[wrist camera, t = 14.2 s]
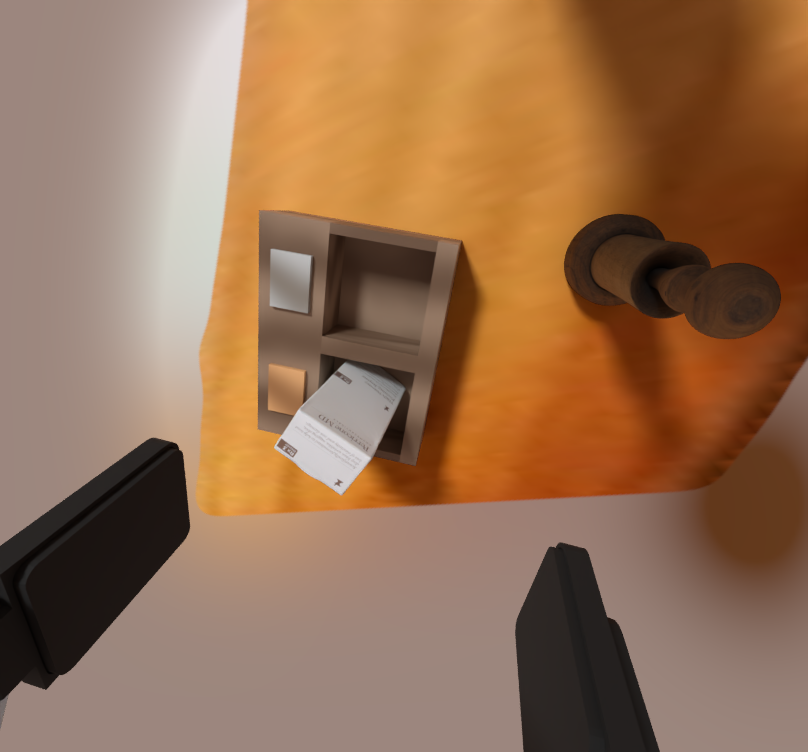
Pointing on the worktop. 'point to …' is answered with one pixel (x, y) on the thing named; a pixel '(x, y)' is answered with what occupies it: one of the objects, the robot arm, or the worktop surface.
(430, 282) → the socket block
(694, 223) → the worktop surface
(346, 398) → the skincare box
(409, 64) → the worktop surface
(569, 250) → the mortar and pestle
